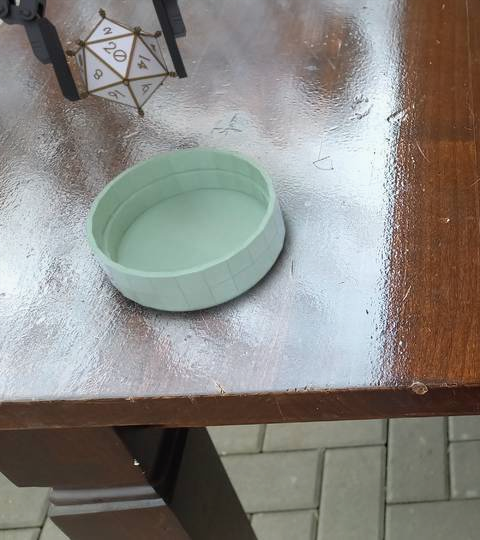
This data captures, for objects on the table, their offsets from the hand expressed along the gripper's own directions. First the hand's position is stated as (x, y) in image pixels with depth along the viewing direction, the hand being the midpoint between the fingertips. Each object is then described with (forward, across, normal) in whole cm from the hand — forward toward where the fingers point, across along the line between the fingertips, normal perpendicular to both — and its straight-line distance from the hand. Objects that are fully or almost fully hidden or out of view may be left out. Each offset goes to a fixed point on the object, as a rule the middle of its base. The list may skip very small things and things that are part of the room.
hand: (128, 85), depth 61 cm
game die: (0, 0, -5) cm, 5 cm away
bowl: (+15, 0, -12) cm, 19 cm away
